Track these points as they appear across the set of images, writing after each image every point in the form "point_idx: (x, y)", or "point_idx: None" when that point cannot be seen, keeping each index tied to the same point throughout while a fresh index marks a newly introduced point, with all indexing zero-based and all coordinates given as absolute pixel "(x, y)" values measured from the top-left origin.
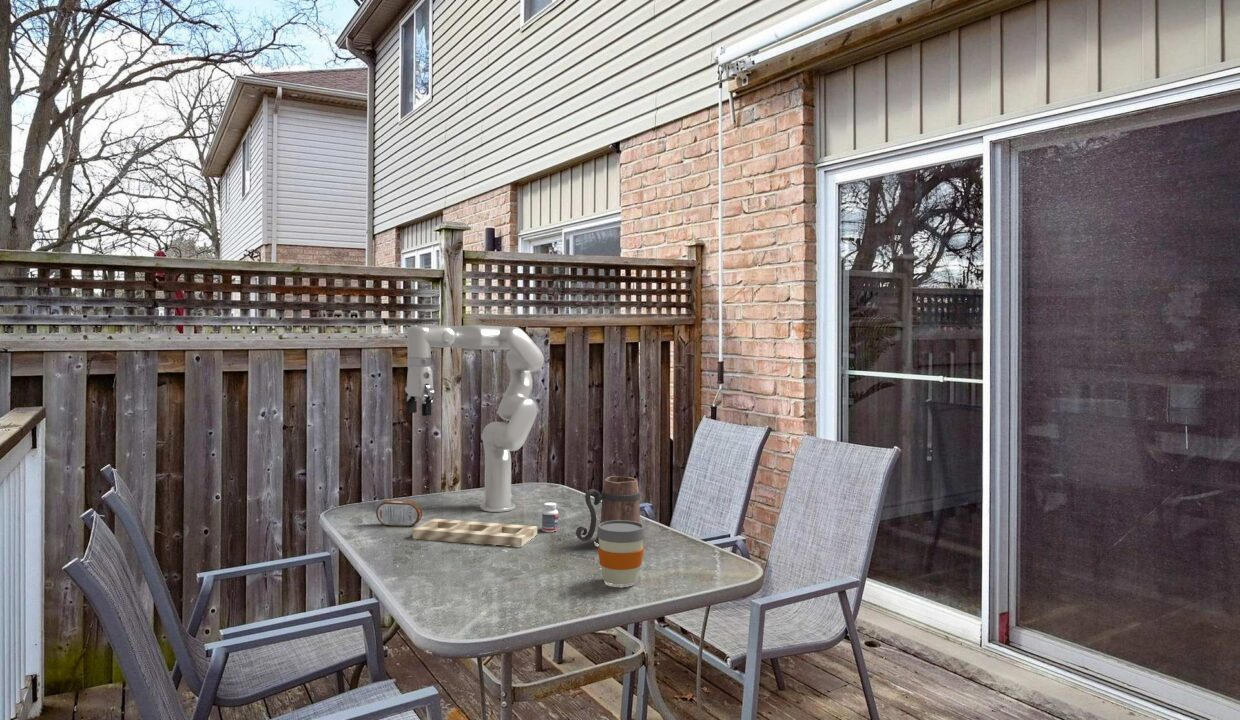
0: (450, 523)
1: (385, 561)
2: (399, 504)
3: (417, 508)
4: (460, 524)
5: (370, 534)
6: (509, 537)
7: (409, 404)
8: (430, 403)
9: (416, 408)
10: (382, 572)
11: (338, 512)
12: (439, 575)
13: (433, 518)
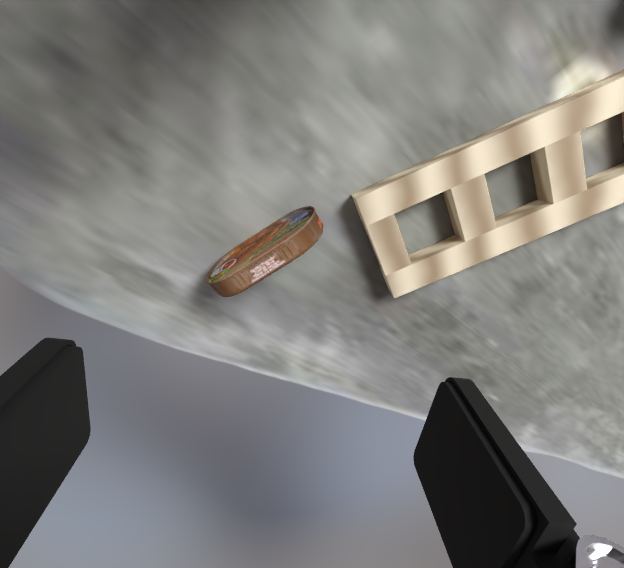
0: (427, 198)
1: None
2: (277, 268)
3: (319, 232)
4: (463, 192)
5: (286, 326)
6: None
7: (16, 543)
8: (565, 532)
9: (47, 378)
10: None
11: (16, 263)
12: (587, 384)
13: (355, 198)
